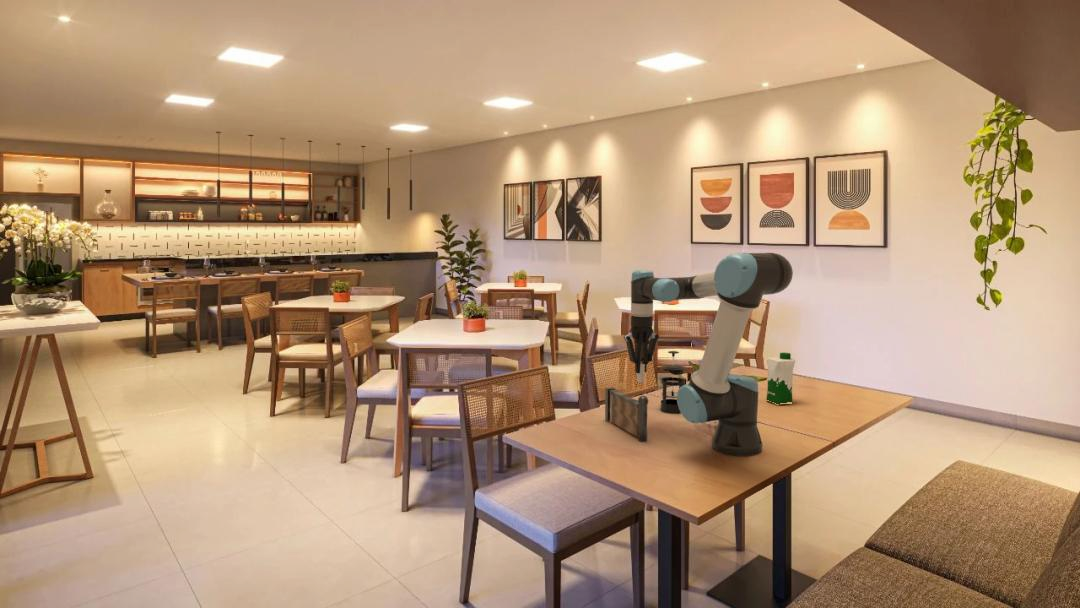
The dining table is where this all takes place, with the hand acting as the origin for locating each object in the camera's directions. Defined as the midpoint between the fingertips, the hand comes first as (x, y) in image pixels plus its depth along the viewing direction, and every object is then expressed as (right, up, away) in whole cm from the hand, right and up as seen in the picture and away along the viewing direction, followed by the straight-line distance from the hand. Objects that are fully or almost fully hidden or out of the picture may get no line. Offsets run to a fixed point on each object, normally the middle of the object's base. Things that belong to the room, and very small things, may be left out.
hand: (640, 381), depth 218 cm
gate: (-6, -16, -3) cm, 17 cm away
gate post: (-2, -17, -14) cm, 22 cm away
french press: (+16, -14, +22) cm, 31 cm away
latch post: (-10, -15, +8) cm, 20 cm away
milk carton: (+61, -13, +31) cm, 69 cm away
